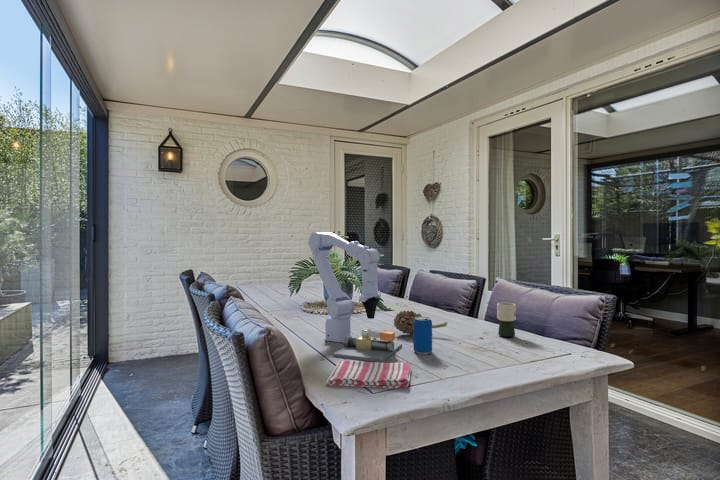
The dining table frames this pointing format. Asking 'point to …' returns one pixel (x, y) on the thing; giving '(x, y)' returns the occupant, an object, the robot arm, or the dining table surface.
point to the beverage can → (422, 335)
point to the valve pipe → (369, 343)
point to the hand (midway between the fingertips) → (370, 318)
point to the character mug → (506, 318)
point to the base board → (366, 353)
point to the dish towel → (370, 374)
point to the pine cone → (409, 322)
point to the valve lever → (378, 334)
